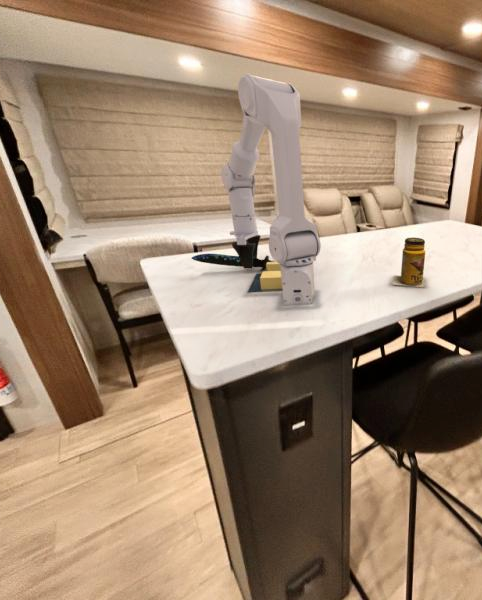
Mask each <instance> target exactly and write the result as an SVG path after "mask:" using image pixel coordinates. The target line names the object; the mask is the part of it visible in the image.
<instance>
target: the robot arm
mask: <svg viewBox="0 0 482 600" xmlns="http://www.w3.org/2000/svg"><path fill="white" fill-rule="evenodd" d="M237 95H238V100H239V105H240V108H241V111H242V113H243V118H242V123H241V132H240V137H239V140H237V141H235V142H234V143H233V146H232V149H231V151H230V152H231V153H230V158H229V162H226V163H225V164H223V165H222V166H221V171H220V172H221V173H220V175H221V181H222V185H223V187H224V188H225V190H226V191H227V195H228V200H229V206H230V207H229V208H230V213H231V220H232V225H233V230H231V231H230V232H229V235H230V236H234V237H235V240H236V242H234V241H233V242H232V243H231V247H232V248H233V250H234V251H235V252H236V255H237V256H239V258H240V260H241V263H242V265H243V267H242V268H243V269H246V270H247V269H253V268H254V267H253V255H255V254H256V257H257V258H258V250H259V249H258V248H259V244H260V240H261V238H262V237H261V235H260V234H259V231H258V226H257V218H256V210H255V203H254V202H255V201H254V197H255V195H256V192H255V188H256V178H255V174H254V173H255V172H256V171H255V170H256V168H257V165H258V162H259V159H260V152H259V149H258V146H259V144H260V142H261V139H262V138H263V135H264V133H265V131H266V129H267V130H268V131H269V132H270V135H271V145H272V156H273V165H274V166H273V168H274V176H275V177H274V178H275V186H276V197H277V207H278V217H277V219H276V220H275V221H273V223H272V224H271V225H270V226H269V238H268V250H269V253H270V256H271V258H272V260H273V261H276V262H277V263H279V264H280V270H281V280H282V290H283V291H282V298H283V306H285V307H287V306H307V305H313V299H314V298H315V296H316V290H315V287H316V286H315V271H314V269H315V268H314V262H315V261H317V257H318V256H319V254H320V252H321V245H322V243H321V240H320V237H319V232H318V225H316V224H315V223H314V222H313V221H312V220H311V219H309V218H308V217H306V216H305V215H306V214H305V202H304V201H305V199H304V186H303V185H304V184H303V183H304V182H303V170H302V168H303V167H302V155H301V137H300V128H302V126H303V125H302V109H301V95H300V92H299V90H297V88H296V87H295V86H294V85H293V84H292V83H290V82H282V81H278V80H274V79H269V78H265V77H262V76H261V77H260V76H256V75H252V74H250V73H248V72H245V73H243V74H242V75H241V77H240V78H239V80H238V85H237Z"/></svg>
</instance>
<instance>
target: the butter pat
mask: <svg viewBox="0 0 482 600" xmlns="http://www.w3.org/2000/svg"><path fill="white" fill-rule="evenodd" d="M265 270H266V271H281V270H280V264H279V263H277V262H267V263H266V269H265Z"/></svg>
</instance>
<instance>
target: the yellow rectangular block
mask: <svg viewBox="0 0 482 600" xmlns="http://www.w3.org/2000/svg"><path fill="white" fill-rule="evenodd" d="M261 273H262V274H261V277H260V283H261V290H264V289H282V280H281V271H267V270H264V271H261Z"/></svg>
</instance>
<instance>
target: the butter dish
mask: <svg viewBox="0 0 482 600" xmlns="http://www.w3.org/2000/svg"><path fill="white" fill-rule="evenodd" d="M261 274H262V272H260V273H256V274H255V276H254V277H253V280H252V282H251V284H250V286H249V287H248V290H247V292H246V293H247V294H249V293H251V294H252V293H272V292H273V293H275V292H283V290H282V289H264V290H261V283H260V277H261Z"/></svg>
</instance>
